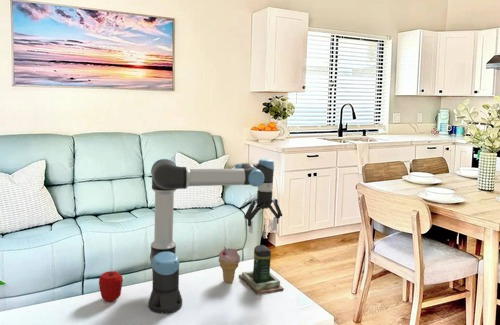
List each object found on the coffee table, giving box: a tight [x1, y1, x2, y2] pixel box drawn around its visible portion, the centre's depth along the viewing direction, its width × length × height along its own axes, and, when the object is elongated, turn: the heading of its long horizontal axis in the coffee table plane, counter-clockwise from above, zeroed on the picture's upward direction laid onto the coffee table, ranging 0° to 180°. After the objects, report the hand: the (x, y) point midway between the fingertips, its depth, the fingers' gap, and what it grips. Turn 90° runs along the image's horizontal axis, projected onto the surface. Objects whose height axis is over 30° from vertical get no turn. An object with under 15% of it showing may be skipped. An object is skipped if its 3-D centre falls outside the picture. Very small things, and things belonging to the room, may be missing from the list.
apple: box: [98, 270, 124, 303], centre depth 196 cm, size 10×10×14 cm
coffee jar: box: [252, 244, 272, 284], centre depth 219 cm, size 10×8×19 cm
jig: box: [238, 270, 285, 296], centre depth 220 cm, size 15×22×4 cm
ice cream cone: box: [218, 247, 241, 284], centre depth 219 cm, size 11×11×20 cm
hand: (262, 231), depth 216 cm, fingers open, 13 cm apart
